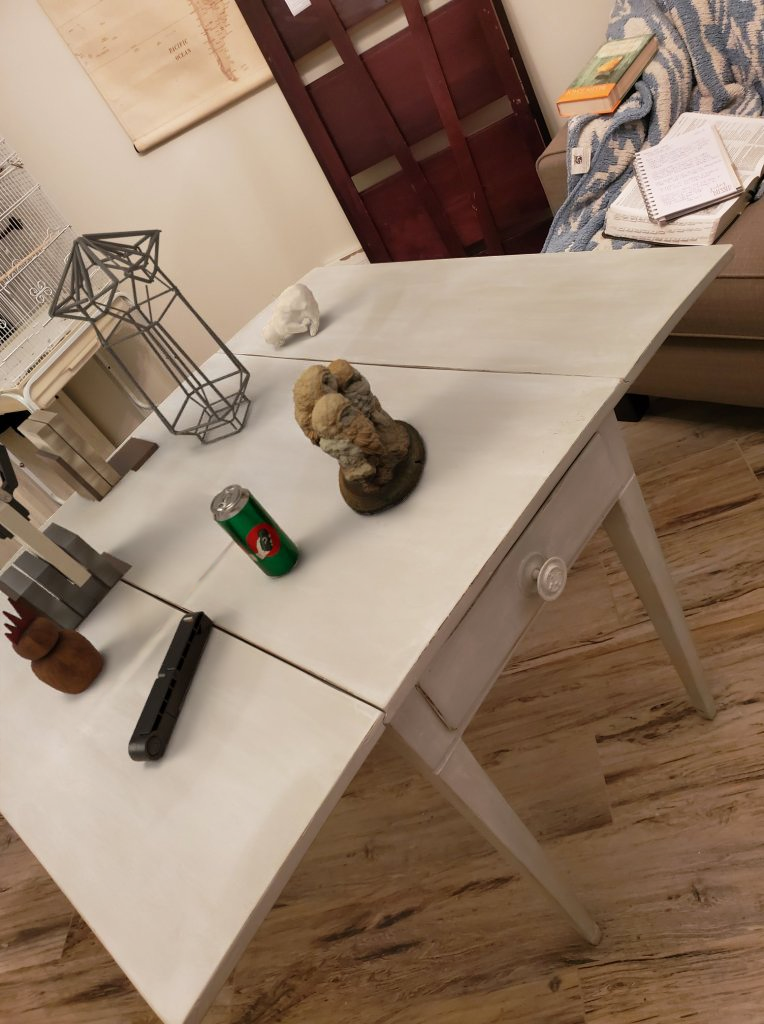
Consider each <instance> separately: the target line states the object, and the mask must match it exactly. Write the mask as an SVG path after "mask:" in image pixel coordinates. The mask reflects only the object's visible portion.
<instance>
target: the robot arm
mask: <svg viewBox="0 0 764 1024" xmlns="http://www.w3.org/2000/svg"><path fill="white" fill-rule="evenodd" d="M0 480H1V486H0V500H1V501H3V502H5V503H7V504H9V505H10V506H11V507H12V508H13V509H14V510H16V511H17V512H18V513H19V514H20V515H22V516H23V517H24V518H25V519H26V520H27V521H29V522H30V521H32V519H31V518H30V517H29V516H30V515H31V513H30V511H29V509H27V508H26V507H25V506H24V505H23V504H22V503H20V502H19V501H18V500H17V499H16V498H15V497H14V493H15V490H16V489H17V488H18V487H19V481H18V479H17V475H16V473H15V470H14V467H13V464H12V460H11V457H10V455H9V452H8V450H7V447H6V445H4V444H3V443H0ZM13 537H14V535H13V534H12V533H11V532H10V531H8V530H7V529H6V528H5V527H3V526H2V525H1V524H0V540H4V541H5V540H6V539H9V540H13V539H14V538H13Z"/></svg>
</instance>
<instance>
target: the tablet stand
mask: <svg viewBox="0 0 764 1024" xmlns="http://www.w3.org/2000/svg"><path fill="white" fill-rule="evenodd" d="M213 624H214V621H213V620H212V618H210V617H209V616H208V615H207V614H206V613H205V612H204V611H203V610H201V611H193V612H188V613H186V614H184V615H183V616H182V617H181V619H180V621H179V623H178V626H177V627H176V630H175V632H174V635H173V638H172V640H171V641H170V644H169V647H168V649H167V651H166V653H165V656H164V659H163V661H162V663H161V666H160V668H159V669H158V672H157V678H155V680H154V681H153V684H152V686H151V688H150V691H149V693H148V696H147V698H146V701H145V703H144V706H143V708H142V711H141V713H140V715H139V717H138V720H137V722H136V725H135V727H134V729H133V732H132V734H131V737H130V739H129V741H128V745H127V752H128V755H129V758H130V759H131V760H132V761H133V762H138V763H141V762H156V761H158V760H160V759H161V758H162V757H163V756H164V754H165V751H166V748H167V746H168V743H169V740H170V739H171V735H172V734H173V733H172V732H173V731H174V728H175V725H176V723H177V720H178V717H179V715H180V712H181V707H182V704H183V702H184V700H185V697H186V694H187V692H188V689H189V686H190V684H191V681H192V679H193V676H194V673H195V671H196V669H197V666H198V663H199V661H200V658H201V656H202V654H203V651H204V648H205V645H206V643H207V640H208V638H209V635H210V632H211V630H212V627H213V626H214V625H213Z"/></svg>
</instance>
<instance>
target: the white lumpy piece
mask: <svg viewBox="0 0 764 1024" xmlns="http://www.w3.org/2000/svg"><path fill="white" fill-rule="evenodd" d="M306 319H309V321H310V326H309V328H308V325H306V324H303V321H304V320H306ZM319 327H320V308H319V304H318V302H317V300H316V298H315V296H314V294H313V291H312V290H311V289H310V288H309V287H308V286H307V285H306V284H304V283H301V282H299V283H295V284H292V285H289V286H287V287H286V288H285V289H283V290H282V291H281V293H280V294H279V297H278V299H277V301H276V303H275V306H274V310H273V312H272V317H271V318H270V321H269V322H268V323H267V324H266V325H265V326H264V327H263V329H262V333H261V335H262V338H263V340H264V342H265V343H266V344H267V345H272V346H274V347H277V348H283V345H284V344H285V340H284V339H285V337H286V336H290V335H293V334H300V333H306V332H307V331H308V329H309V335H310V336H311V337H314V336H315V335H317V333H318V330H319Z"/></svg>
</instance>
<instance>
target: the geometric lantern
mask: <svg viewBox="0 0 764 1024" xmlns="http://www.w3.org/2000/svg"><path fill="white" fill-rule="evenodd" d="M162 232H163V231H162V229H156V228H155V229H144V230H143V229H141V230H129V231H128V230H127V231H126V230H125V231H112V232H97V233H83V234H81V236H78V237H76V238H75V239H73V241H72V247H71V250H70V252H69V255H68V257H67V261H66V263H65V266H64V269H63V271H62V274H61V277H60V280H59V282H58V284H57V288H56V290H55V293H54V296H53V298H52V301H51V304H50V307H49V308H48V312H47V314H48V316H49V317H50V319H53V318H61V319H67V320H68V319H69V320H75V321H83V322H89V324H90V325H91V327H92V328H93V329H94V332H95V334H96V336H97V338H98V341H99V343H100V346H101V347H102V349H104V350H105V351H106V352H107V353H108V355H109V356H110V357H111V358H112V360H113V361H114V362H115V363H116V364H117V366H118V367H119V368H120V369H121V371H122V372H123V373H124V375H125V376H126V377H127V378H128V379H129V380H130V382H131V383H132V384H133V386H134V387H135V388H136V389H137V390H138V391H139V393H140V394H141V396H142V397H143V399H144V400H145V401H146V403H147V404H148V405H149V406H150V408H151V409H152V410H153V412H154V413H155V414H156V416H157V417H158V419H159V420H160V421H161V423H162V424H163V425H164V427H165V428H166V429H167V430H168V432H169V433H170V434H171V435H173V436H174V437H175V436H196V438H197V439H198V441H200V444H202V445H208V444H211V443H214V442H217V441H219V440H222V439H225V438H227V437H230V436H232V435H233V436H234V435H235V434H239V433H240V432H241V430H242V429H243V428H244V426H245V423H246V420H247V416H248V414H249V410H250V406H251V403H252V400H251V399H249V397H248V396H247V395H246V394H245V393H246V390H247V387H248V384H249V381H250V378H251V373H250V371H249V370H248V369H247V367H245V365H243V363H242V362H241V361H240V360H239V358H237V356H236V355H235V354H234V353H233V352H232V350H231V349H229V347H228V346H227V345H226V343H224V341H223V340H222V339H221V338H220V337H219V336H218V335H217V334H216V332H214V330H213V329H212V328H211V327H210V325H209V324H208V323H207V322H206V321H205V320H204V319H203V318H202V316H201V315H200V314H199V313H198V312H197V311H196V310H195V308H194V307H193V306H192V305H191V303H190V302H189V301H188V300H187V298H186V297H185V296H184V295H183V294H182V292H181V290H180V289H179V288H178V286H177V285H175V283H173V281H172V280H171V279H170V278H169V276H168V275H166V274H165V273H164V271H163V270H162V269H161V268H160V266H159V251H160V234H161V233H162ZM128 237H129V238H131V237H132V238H133V237H142V238H140V239H139V240H138V241H136V242H135V243H134V244H133V245H132V244H125V243H121V242H120V243H119V242H113V241H107V240H110V239H120V238H128ZM148 239H149V241H148V245H147V248H146V251H145V252H143V250H142V249H141V247H140V246H141V245H142V244H144V242H146V241H147V240H148ZM153 247H154V256H152V255H151V252H152V249H153ZM80 248H81V249H80ZM92 249H93V250H95V251H97V252H99V253H100V254H102V256H104V257H105V258H102V259H101V258H99V256H97V255H96V253H94V251H93V250H92ZM81 250H82V251H83V253H84V254H85V255H86V257H87V258H88V260H89V263H91V264H90V265H89V266H88V267H86V264H85V262H84V259H83V256H82V252H81ZM133 255H134V256H139V257H140V258H138V260H136V261H135V263H133V262H132V260H131V259H130V257H131V256H133ZM153 257H154V258H153ZM115 260H116V261H115ZM149 260H150V262H152V264H153V270H152V272H151V271H150V270H149V269H148V268H147V267H148V265H149V264H150V263H149ZM117 261H118V262H121V263H122V264H125V265H127V266H128V267H127V266H122V265H120V264H119V263H117ZM108 262H111V263H113V264H110V263H108ZM94 266H96V267H99V268H100V269H101V270H102V271H103V272H104V274H106V276H108V278H109V279H110V280H111V281H112V283H111V284H109V285H108V286H106V287H105V288H103V289H102V290H101V291H99V292H98V293H97V294H94V291H93V286H92V282H91V277H90V273H89V270H90V269H91V268H92V267H94ZM70 268H71V269H70ZM111 269H114V270H119V271H123V276H124V277H123V278H121V280H120V279H119V278H118V277H117V276H116V275H115V274H114V273H113V272H112V271H111ZM69 270H70V273H71V274H70V285H69V287H70V289H69V295H68V296H67V297H66V298H64V299H63V300H62V301H60V302H59V299H60V296H61V293H62V289H63V287H64V283H65V281H66V278H67V275H68V273H69ZM139 270H141V271H142V273H144V275H145V276H146V277H147V278H145V277H141V276H138V275H135V273H134V272H135V271H136V272H137V271H139ZM157 273H159V275H160V276H161V277H162V278H163V279H164V280H165V281H166V282H167V283H168V284H169V285H168V284H167V283H165V282H164V281H163V280H162V279H161V278H159V277H158V276H156V275H157ZM128 279H130V280H131V281H130V282H131V288H132V296H133V303H134V305H132V307H130V308H129V309H128V310H124V309H120V308H117V307H115V306H112V303H113V301H114V297H115V295H116V292H117V289H118V286H119V284H122V283H123V282H125V281H126V280H128ZM155 279H156V280H157V281H158V282H159V283H160V284H162V285H163V286H165V288H167V289H166V290H165V291H161V292H160V293H157V294H155V295H154V296H151V297H150V294H149V287H148V284H152V283H154V282H155ZM135 281H138V282H141V283H145V286H144V287H145V294H146V299H144V300H142V301H141V302H138V297H137V295H138V294H137V287H136V282H135ZM80 290H82V292H83V293H84V294H85V296H86V297H85V298H82V299H81V291H80ZM108 292H110V294H109V296H108V300H107V302H106V304H104V303H102V302H98V301H97V300H99V299H100V298H101V297H103V296H104V295H106V294H107V293H108ZM171 292H174V294H173V295H172V298H171V299H170V300H169V302H168V303H167V305H166V307H165V308H164V310H163V311H162V312H161V314H160V315H159V317H158V318H157V320H153V314H152V307H151V302H152V301H153V300H155V299H157V298H159V297H162V296H163V295H167V294H168V293H171ZM177 297H178V298H179V299H180V300H181V302H182V303H183V304H184V305H185V306H186V308H188V310H189V311H190V312H191V314H193V315H194V317H195V318H196V319H197V320H198V322H199V323H200V325H202V327H203V328H204V329H205V331H207V333H208V334H209V335H210V337H211V338H212V339H213V340H214V341H215V343H216V344H217V345H218V346H219V348H220V349H221V351H223V352H224V354H225V355H226V356H227V358H228V359H229V360H230V361H231V363H232V365H234V366H235V367H236V369H237V370H235V371H232V372H230V373H227V374H224V375H223V376H222V375H221V376H219V377H217V378H215V379H212V380H210V379H209V377H207V376H206V374H205V373H204V372H203V371H202V370H201V369H200V367H199V366H198V365H197V364H196V363H195V362H194V361H193V359H192V358H191V357H190V356H189V355H188V354H187V353H186V352H185V350H184V349H183V348H182V347H181V346H180V345H179V343H178V342H177V341H176V340H175V339H174V338H173V337H172V335H170V333H169V332H168V331H167V330H166V328H164V326H163V325H162V324H161V323H160V322H161V321H162V319H163V318H164V316H165V315H166V313H167V312H168V310H169V309H170V307H171V305H172V304H173V303H174V301H175V300H176V298H177ZM71 300H72V301H73V302H72V303H70V304H67V303H69V302H70V301H71ZM58 302H59V303H58ZM86 303H87V304H86ZM146 303H147V307H148V314H149V318H148V316H147V315H146V314H145V312H143V310H142V309H141V308H140V307H141V306H142V305H144V304H146ZM66 304H67V305H66ZM83 304H86V305H84V306H82V305H83ZM92 306H94V307H95V308H96V309H97V310H98V311H99V312H101V313H100V314H98V315H96V316H95V317H91V316H90V314H89V313H88V311H87V310H89V309H90V308H91V307H92ZM100 306H101V307H100ZM139 306H140V307H139ZM102 307H104V310H103V308H102ZM111 309H112V310H113V311H117V312H120V313H123V314H122V315H119V314H117V313H114V312H112V311H110V310H111ZM135 310H136V311H137V312H138V313H139V315H140V316H141V318H142V319H143V320H144V321H145V322H146V323H147V324H148V325H147V326H146V325H145V324H142V323H139V322H137V321H136V320H135V319H134V317H133V316H132V314H131V313H133V312H134V311H135ZM74 313H81V314H82V315H83V316H80V315H73V314H74ZM107 315H108V316H111V317H113V318H115V319H118V321H117V323H116V324H115V326H114V327H113V328H112V330H111V331H110V333H108V336H106V338H105V337H104V335H103V334H102V332H101V331H100V330H99V328H98V327H97V325H96V323H97V322H99V321H100V320H101V319H103V318H104V317H106V316H107ZM126 316H127V317H126ZM122 321H123V322H125V323H128V324H130V325H133V326H134V327H135V329H136V330H137V332H134V333H132V334H130V335H127V336H125V337H122V338H120V339H117V340H116V341H113V342H111V343H108V342H109V341H110V339H111V337H112V336H113V334H114V333H115V332H116V330H117V329H118V327H119V326H120V325H121V323H122ZM156 327H157V328H159V330H160V331H161V332H162V334H164V336H165V337H166V338H167V340H169V341H170V343H171V344H172V345H173V346H174V347H175V348H176V349H177V350H178V352H179V353H180V355H182V356H183V357H184V359H186V361H187V362H188V363H189V364H190V365H191V366H192V368H193V369H194V370H195V371H196V372H197V373H198V374H199V376H200V377H201V378H202V379H203V380H204V382H205V383H201V382H200V380H198V378H197V377H196V376H195V375H194V373H193V372H192V371H191V370H190V368H189V367H188V366H187V364H186V363H185V362H184V361H183V360H182V358H181V357H180V356H179V355H178V353H177V352H176V351H175V350H174V349H173V347H172V346H171V345H170V344H169V343H168V341H167V340H166V339H165V337H164V336H163V335H162V334H161V332H160V331H159V330H158V329H157V328H156ZM151 329H152V330H153V332H154V333H155V334H156V335H157V337H158V338H159V339H160V340H161V342H162V343H163V344H164V346H165V347H166V348H167V349H168V350H169V352H170V353H171V354H172V355H173V356H174V358H175V359H176V360H177V361H178V362H179V364H180V365H181V366H182V367H183V369H184V370H185V371H186V372H187V374H188V375H189V376H190V377H191V378H192V380H193V381H194V382H195V383H196V385H197V387H196V386H195V385H194V384H193V382H192V381H191V380H190V379H189V377H188V376H187V375H186V374H185V372H184V371H183V370H182V369H181V367H180V366H179V365H178V364H177V362H176V361H175V360H174V359H173V357H172V356H171V355H170V354H169V353H168V352H167V350H166V349H165V348H164V346H163V345H162V344H161V343H160V342H159V340H158V339H157V338H156V337H155V336H154V334H153V333H152V332H151ZM139 335H141V337H142V338H143V339H144V341H145V342H146V343H147V344H148V346H149V347H150V349H151V350H152V351H153V353H154V354H155V355H156V357H157V358H158V359H159V361H160V362H161V363H162V365H163V366H164V367H165V369H166V370H167V372H168V373H169V374H170V375H171V377H172V378H173V379H174V381H175V383H177V385H178V386H179V388H180V389H181V390H182V392H183V393H184V394H185V396H186V397H185V399H184V401H183V403H182V404H181V407H180V408H179V410H178V413H177V414H176V417H175V418H174V420H173V422H172V424H171V423H170V422H169V421H168V419H167V418H166V417H165V415H163V413H162V412H161V410H159V408H158V407H157V405H156V404H155V403H154V402H153V401H152V400H151V398H150V397H149V396H148V394H147V393H146V392H145V391H144V389H143V388H142V387H141V385H140V384H139V383H138V381H137V380H136V379H135V377H134V376H133V375H132V373H131V372H130V370H129V369H128V368H127V367H126V365H125V364H124V363H123V362H122V360H121V359H120V357H119V356H118V355H117V353H116V352H115V351H114V349H113V348H112V346H115V345H117V344H120V343H122V342H124V341H127V340H129V339H132V338H134V337H136V336H139ZM147 335H148V336H149V337H150V339H151V340H152V341H153V343H154V344H155V345H156V347H158V349H159V350H160V351H161V352H162V354H163V355H164V356H165V358H166V359H167V360H168V361H169V363H170V364H171V365H172V366H173V367H174V368H175V370H176V371H177V372H178V373H179V375H180V376H181V377H182V378H183V380H184V381H185V382H186V383H187V384H188V386H189V387H190V389H192V390H191V391H190V392H188V391H187V389H186V387H185V386H184V385H183V383H182V382H181V380H180V379H179V377H178V376H177V375H176V374H175V372H174V371H173V370H172V369H171V367H170V366H169V365H168V363H167V362H166V360H165V359H164V358H163V356H162V355H161V354H160V352H159V351H158V350H157V348H156V347H155V345H154V344H153V343H152V342H151V340H150V339H149V337H148V336H147ZM238 374H239V389H238V390H237V392H233V393H232V394H230V395H226V396H224V395H223V394H222V392H221V391H220V390H219V389H218V388H217V387H216V386H215V384H216V383H218V382H221V381H224V380H225V379H228V378H231V377H234V376H236V375H238ZM243 374H245V377H244V379H243ZM208 386H210V388H211V389H212V390H213V391H214V392H215V394H216V395H217V396H218V397H219V398H220V399H217V400H216V401H214V402H211V403H210V402H209V400H208V397H207V395H206V392H205V390H204V388H205V387H208ZM200 391H201V392H200ZM194 394H195V395H196V396H197V397H198V398H199V400H200V401H201V402H202V403H203V404H201V403H200V402H199V401H197V399H195V398H194V397H193V395H194ZM233 397H234V399H233V401H232V403H231V402H230V401H229V400H228V399H230V398H233ZM189 400H191V401H193V402H194V403H195V404H196V405H198V406H199V407H201V408H202V411H201V414H200V416H199V419H198V421H197V425H195V426H192V427H187V428H186V429H182V430H176V429H175V427H176V426H177V424H178V422H179V420H180V418H181V416H182V414H183V412H184V410H185V408H186V406H187V404H188V403H189ZM221 402H223V403H224V404H225V405H226V406H225V407H222V408H220V409H217V410H215V409H214V407H213V406H214V405H216V404H219V403H221ZM244 403H247V406H246V409H245V412H244V416H243V418H242V422H241V421H240V419H239V418H238V416H237V415H238V412H239V410H240V406H241V404H244ZM235 407H236V408H235ZM225 410H226V411H225ZM208 411H209V412H210V413H211V414H210V413H209V412H208ZM223 411H225V412H224V413H223V414H222V415H221V417H220V416H219V413H221V412H223ZM231 412H232V414H231V415H232V418H231V419H230V420H229V419H226V418H227V417H228V415H230V413H231ZM205 414H206V415H207V417H208V420H207V422H204V423H202V420H203V418H204V415H205ZM213 417H214V418H215V419H213V420H212V418H213ZM234 421H236V423H238V425H239V428H238V427H237V426H236V425H235V424H234V423H233V422H234ZM221 422H223V423H221ZM218 423H220V424H218ZM214 424H215V426H212V427H210V426H211V425H214ZM216 424H217V425H216ZM229 424H230V426H231V427H232V428H233V429H234V430H235V431H232V432H229V433H227V434H224V435H221V436H218V437H216V438H215V437H214V438H213V439H210V440H207V441H206V440H205V438H206V435H207V433H208V432H210V431H214V430H216V429H218V428H222V427H223V426H227V425H229ZM203 428H205V429H204V430H202V431H199V430H200V429H203ZM193 431H194V432H193ZM198 431H199V432H198ZM201 435H202V436H201Z"/></svg>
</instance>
